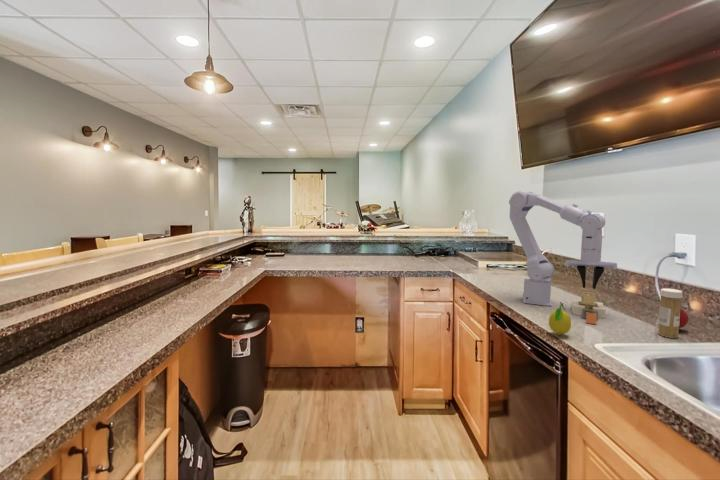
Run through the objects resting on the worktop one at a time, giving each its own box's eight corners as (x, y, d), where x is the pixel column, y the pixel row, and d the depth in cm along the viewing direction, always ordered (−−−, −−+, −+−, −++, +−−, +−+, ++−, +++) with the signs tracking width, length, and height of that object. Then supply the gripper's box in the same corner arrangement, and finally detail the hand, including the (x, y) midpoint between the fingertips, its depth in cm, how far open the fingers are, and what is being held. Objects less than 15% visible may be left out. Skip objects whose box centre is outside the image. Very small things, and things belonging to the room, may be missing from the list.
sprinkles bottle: (682, 339, 92) (686, 292, 91) (662, 337, 93) (666, 291, 92) (672, 333, 96) (676, 288, 95) (653, 331, 98) (657, 287, 96)
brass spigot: (580, 313, 115) (581, 293, 115) (580, 310, 119) (581, 291, 118) (594, 315, 113) (595, 295, 112) (594, 312, 116) (595, 292, 116)
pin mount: (581, 318, 110) (582, 310, 110) (581, 316, 112) (581, 308, 111) (597, 320, 108) (598, 312, 108) (597, 318, 109) (597, 310, 109)
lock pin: (586, 323, 105) (586, 313, 105) (584, 316, 111) (584, 308, 111) (596, 324, 104) (596, 315, 104) (593, 317, 110) (594, 309, 110)
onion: (690, 334, 95) (692, 307, 95) (663, 330, 98) (665, 304, 98) (684, 328, 100) (686, 302, 100) (659, 324, 103) (661, 299, 103)
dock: (572, 314, 114) (573, 305, 114) (571, 307, 122) (572, 299, 122) (605, 318, 110) (605, 309, 110) (601, 311, 118) (602, 302, 117)
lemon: (562, 330, 100) (563, 298, 99) (577, 338, 94) (579, 303, 93) (541, 331, 99) (543, 299, 98) (555, 339, 93) (557, 304, 92)
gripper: (566, 249, 114) (564, 287, 115) (619, 251, 107) (616, 292, 108) (566, 247, 120) (564, 283, 121) (616, 249, 113) (613, 288, 114)
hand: (588, 287), depth 115 cm, fingers closed
